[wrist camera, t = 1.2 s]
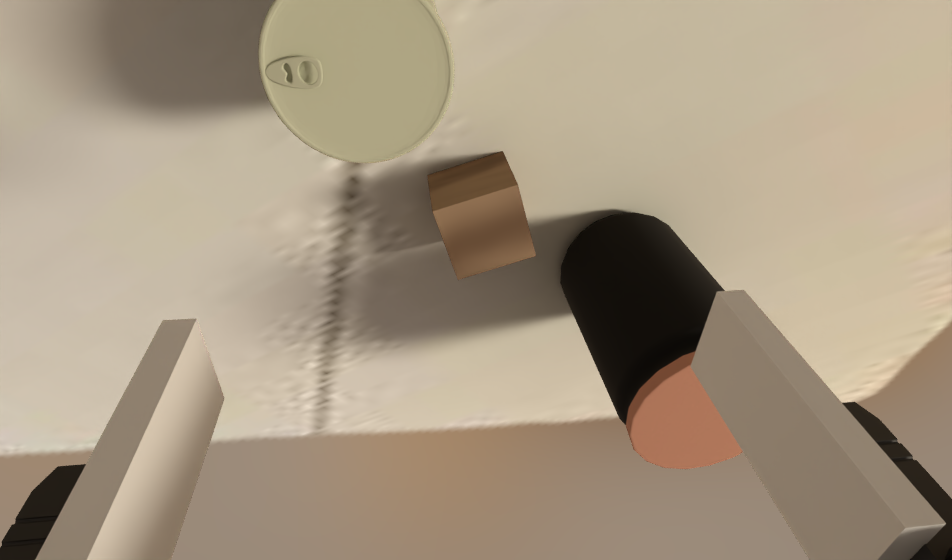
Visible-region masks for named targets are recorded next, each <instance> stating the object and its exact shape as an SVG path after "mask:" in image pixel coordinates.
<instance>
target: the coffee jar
mask: <svg viewBox="0 0 952 560" xmlns="http://www.w3.org/2000/svg"><path fill="white" fill-rule="evenodd" d="M560 283H561V286H562V289H563V291H564V294H565V297H566V299H567V301H568V304H569V306H570V308H571V310H572V313H573V315H574V317H575V319H576V322H577V324H578V326H579V328H580V331H581V333H582V335H583V337H584V340H585V342H586V344H587V346H588V349H589V351H590V353H591V355H592V358H593V360H594V362H595V364H596V366H597V369H598V371H599V373H600V375H601V378H602V380H603V382H604V384H605V387H606V389H607V391H608V393H609V396H610V398H611V400H612V402H613V405H614V407H615V409H616V411H617V414H618V416H619V418H620V419H621V420H622V422H623V423H624V424H625V425H626V428H627V431H628V434H629V437H630V440H631V442H632V446H633V449H634V450H635V451H636V452H637V453H638V454H639V455H640V456H641V457H642V458H644V459H645V460H646V461H647V462H650V463H652V464H655V465H658V466H661V467H664V468H677V469H689V468H696V467H703V466H709V465H712V464H715V463H718V462H721V461H724V460H727V459H730V458H733V457H735V456H737V455H739V454H740V453H742V452H743V451H742V449H741V448H740V446H739V445H738V443H737V441H736V440H735V438H734V436H733V435H732V433H731V432H730V430H729V428H728V427H727V425H726V424H725V422H724V420H723V419H722V417H721V415H720V414H719V412H718V411H717V409H716V407H715V406H714V404H713V402H712V401H711V399H710V398H709V396H708V394H707V393H706V391H705V389H704V388H703V386H702V385H701V383H700V381H699V380H698V378H697V376H696V375H695V373H694V372H693V370H692V368H691V367H690V366H691V363H692V360H693V358H694V355H695V352H696V349H697V346H698V343H699V341H700V338H701V335H702V332H703V329H704V327H705V324H706V321H707V318H708V315H709V313H710V310H711V307H712V304H713V301H714V298H715V296H716V293H717V291H724V289H723V288H722V287H721V286H720V285H719V284H718V282H717V281H716V280H715V279H714V278H713V277H712V275H711V274H710V273H709V272H708V271H707V270H706V268H705V267H704V266H703V265H702V264H701V263H700V261H699V260H698V259H697V258H696V257H695V256H694V254H693V253H692V252H691V251H690V250H689V249H688V247H687V246H686V245H685V244H684V243H683V242H682V240H681V239H680V238H679V237H678V236H677V235H676V233H675V232H674V231H673V230H672V229H671V228H670V226H669V225H667V224H666V223H664V222H662V221H661V220H659V219H657V218H656V217H654V216H649V215H644V214H639V213H626V214H617V215H611V216H609V217H606V218H604V219H601V220H599V221H596V222H595V223H593V224H592V225H590V226H589V227H588V228H586V229H585V230H584V231H582V232H581V233H580V234H579V235H578V237H577V238H576V239H575V240H574V242H573V243H572V244H571V245H570V247H569V248H568V250H567V253H566V255H565V258H564V260H563V263H562V266H561V281H560Z"/></svg>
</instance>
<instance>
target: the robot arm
mask: <svg viewBox="0 0 952 560" xmlns="http://www.w3.org/2000/svg"><path fill="white" fill-rule="evenodd" d="M690 367H691V368H692V370H693V372H694V373H695V375H696V376H697V378H698V380H699V381H700V383H701V385H702V386H703V388H704V389H705V391H706V393H707V394H708V396H709V398H710V399H711V401H712V402H713V404H714V406H715V407H716V409H717V411H718V412H719V414H720V415H721V417H722V419H723V420H724V422H725V424H726V425H727V427H728V428H729V430H730V432H731V433H732V435H733V436H734V438H735V440H736V441H737V443H738V445H739V446H740V448H741V449H742V451H743V453H744V454H745V456H746V458H747V459H748V461H749V462H750V464H751V466H752V467H753V469H754V471H755V472H756V474H757V475H758V477H759V479H760V480H761V482H762V484H763V485H764V487H765V488H766V490H767V491H768V493H769V495H770V496H771V498H772V500H773V501H774V503H775V504H776V506H777V508H778V509H779V511H780V513H781V514H782V516H783V518H784V519H785V521H786V522H787V524H788V526H789V527H790V529H791V531H792V532H793V534H794V535H795V537H796V539H797V540H798V542H799V544H800V545H801V547H802V548H803V550H804V552H805V553H806V555H807V556H808V558H809V560H952V499H951V498H950V497H949V496H948V494H947V493H946V492H945V491H944V490H943V489H942V488H941V487H940V486H939V484H938V483H937V482H936V481H935V480H934V479H933V478H932V477H931V476H930V474H929V473H928V472H927V471H926V470H925V469H924V468H923V467H922V466H921V465H920V464H919V462H918V461H917V460H913V458H912V455H911V454H910V453H909V451H908V450H907V449H906V448H905V447H904V446H903V445H902V444H901V443H900V444H899V443H898V442H897V438H896V437H895V436H894V435H893V434H892V433H891V432H890V431H889V429H888V428H887V427H886V426H885V425H884V424H883V423H882V422H881V421H880V420H879V419H878V418H877V417H875V416H874V415H873V414H871V413H870V412H868V411H867V410H865V409H864V408H862V407H861V406H860V405H858V404H857V403H855V402H848V403H841V401H840V400H839V399H838V398H837V397H836V396H835V394H834V393H833V392H832V391H831V390H830V389H829V388H828V386H827V385H826V384H825V383H824V382H823V381H822V379H821V378H820V377H819V376H818V375H817V374H816V373H815V371H814V370H813V369H812V368H811V367H810V366H809V364H808V363H807V362H806V361H805V360H804V359H803V358H802V356H801V355H800V354H799V353H798V352H797V351H796V349H795V348H794V347H793V346H792V345H791V344H790V343H789V341H788V340H787V339H786V338H785V337H784V336H783V334H782V333H781V332H780V331H779V330H778V329H777V328H776V326H775V325H774V324H773V323H772V322H771V321H770V319H769V318H768V317H767V316H766V315H765V314H764V313H763V311H762V310H761V309H760V308H759V307H758V306H757V304H756V303H755V302H754V301H753V300H752V299H751V298H750V296H749V295H748V294H747V293H746V292H745V291H744V290H735V291H717V293H716V296H715V298H714V301H713V304H712V307H711V310H710V313H709V315H708V318H707V321H706V324H705V327H704V329H703V332H702V335H701V338H700V341H699V343H698V346H697V349H696V352H695V355H694V358H693V360H692V363H691V366H690ZM223 401H224V396H223V393H222V390H221V387H220V384H219V381H218V378H217V375H216V373H215V370H214V367H213V364H212V361H211V358H210V355H209V352H208V349H207V347H206V344H205V341H204V338H203V335H202V332H201V329H200V326H199V323H198V321H197V319H180V320H163V321H162V323H161V325H160V326H159V328H158V330H157V332H156V334H155V336H154V338H153V340H152V342H151V343H150V345H149V347H148V349H147V351H146V353H145V355H144V357H143V358H142V360H141V362H140V364H139V366H138V368H137V370H136V372H135V373H134V375H133V377H132V379H131V381H130V383H129V385H128V387H127V388H126V390H125V392H124V394H123V396H122V398H121V400H120V402H119V403H118V405H117V407H116V409H115V411H114V413H113V415H112V417H111V418H110V420H109V422H108V424H107V426H106V428H105V430H104V432H103V433H102V435H101V437H100V439H99V441H98V443H97V445H96V447H95V449H94V450H93V452H92V454H91V456H90V458H89V460H88V462H87V464H84V465H71V466H60V467H57V468H56V469H55V470H54V471H53V472H52V473H51V474H50V475H49V476H47V477H46V478H45V479H44V480H43V481H42V482H41V483H40V484H39V485H38V486H37V487H36V488H35V489H34V490H33V491H32V492H31V494H30V496H29V497H28V499H27V500H26V502H25V504H24V505H23V507H22V509H21V511H20V512H19V514H18V516H17V517H16V522H15V524H14V525H12V526H11V527H10V529H9V530H8V532H7V534H6V535H5V537H4V539H3V540H2V546H1V547H0V560H171V558H172V555H173V552H174V549H175V546H176V543H177V540H178V537H179V534H180V531H181V528H182V525H183V522H184V519H185V516H186V513H187V510H188V507H189V504H190V501H191V498H192V495H193V492H194V489H195V486H196V483H197V480H198V477H199V474H200V471H201V468H202V465H203V462H204V459H205V456H206V453H207V450H208V447H209V444H210V441H211V438H212V435H213V432H214V429H215V425H216V422H217V419H218V416H219V413H220V410H221V407H222V404H223Z"/></svg>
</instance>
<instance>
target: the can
mask: <svg viewBox="0 0 952 560" xmlns="http://www.w3.org/2000/svg"><path fill="white" fill-rule="evenodd" d="M258 60H259V69H260V75H261V79H262V83H263V87H264V90H265V92H266V95H267V97H268V99H269V101H270V103H271V105H272V107H273V109H274V110H275V112H276V113H277V115H278V117H279V118H280V119H281V121H282V122H283V123H284V124H285V125H286V127H287V128H288V129H289V130H290V131H291V132H292V133H293V134H294V135H295V136H297V137H298V138H299V139H300V140H301V141H303V142H304V143H305V144H307V145H308V146H310V147H311V148H313V149H315V150H317V151H319V152H321V153H322V154H325V155H327V156H330V157H333V158H336V159H339V160H343V161H348V162H355V163H375V162H382V161H387V160H390V159H393V158H396V157H399V156H401V155H403V154H406V153H408V152H410V151H411V150H413V149H414V148H416V147H417V146H419V145H420V144H421V143H422V142H424V141H425V140H426V139H427V138H428V137H429V136H430V135H431V133H432V132H433V131H434V130H435V129H436V128H437V126H438V125H439V123H440V122H441V120H442V118H443V116H444V114H445V112H446V110H447V108H448V105H449V102H450V99H451V95H452V91H453V85H454V59H453V52H452V48H451V44H450V40H449V37H448V34H447V32H446V29H445V27H444V25H443V23H442V21H441V19H440V18H439V16H438V14H437V11H436V7H435V3H434V0H275V1H274V2H273V3H272V5H271V7H270V9H269V11H268V13H267V15H266V17H265V20H264V22H263V25H262V29H261V33H260V39H259V48H258Z"/></svg>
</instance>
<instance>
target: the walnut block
mask: <svg viewBox="0 0 952 560" xmlns="http://www.w3.org/2000/svg"><path fill="white" fill-rule="evenodd" d="M427 177H428V184H429V191H430V198H431V205H432V212H433V214H434V217H435V220H436V222H437V225H438V228H439V230H440V233H441V236H442V239H443V241H444V244H445V247H446V249H447V252H448V255H449V257H450V260H451V263H452V265H453V268H454V271H455V273H456V276H457V279H458V280H460V279H463V278H466V277H469V276H473V275H476V274H479V273H482V272H486V271H489V270H492V269H495V268H499V267H502V266H505V265H508V264H512V263H515V262H518V261H521V260H525V259H528V258H531V257H534V256H536V254H535V250H534V246H533V242H532V238H531V234H530V230H529V226H528V223H527V219H526V215H525V211H524V207H523V203H522V199H521V195H520V191H519V187H518V184H517V182H516V180H515V177H514V175H513V173H512V171H511V168H510V166H509V164H508V162H507V160H506V157H505V155H504V153H503V151H502V152H499V153H495V154H492V155H489V156H486V157H483V158H480V159H477V160H473V161H470V162H467V163H464V164H461V165H458V166H455V167H452V168H448V169H445V170H442V171H439V172H436V173H433V174H430V175H427Z"/></svg>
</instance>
